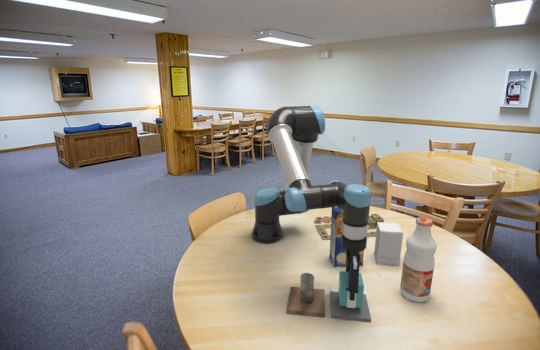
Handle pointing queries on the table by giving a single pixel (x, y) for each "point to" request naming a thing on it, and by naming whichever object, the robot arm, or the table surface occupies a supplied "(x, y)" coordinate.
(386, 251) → the supplement box
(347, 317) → the slate mat
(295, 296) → the post stand
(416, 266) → the fruit juice
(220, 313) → the table surface
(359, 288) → the teal block
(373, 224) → the pile of dominoes
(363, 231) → the robot arm
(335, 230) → the juice carton
